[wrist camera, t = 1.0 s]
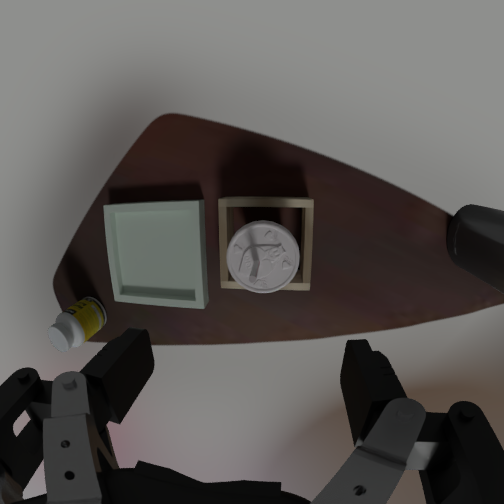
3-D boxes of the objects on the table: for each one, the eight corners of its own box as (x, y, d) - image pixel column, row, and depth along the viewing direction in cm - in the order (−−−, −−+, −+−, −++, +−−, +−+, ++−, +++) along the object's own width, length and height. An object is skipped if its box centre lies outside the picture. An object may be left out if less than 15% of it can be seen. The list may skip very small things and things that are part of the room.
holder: (308, 197, 32) (313, 199, 27) (305, 276, 34) (309, 290, 30) (226, 196, 33) (218, 199, 28) (228, 274, 35) (221, 288, 31)
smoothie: (230, 227, 34) (198, 258, 20) (277, 200, 32) (276, 213, 19) (257, 272, 35) (244, 329, 21) (304, 247, 33) (320, 291, 20)
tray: (204, 199, 33) (198, 201, 31) (208, 301, 36) (204, 308, 34) (113, 203, 34) (103, 205, 32) (123, 294, 37) (115, 300, 35)
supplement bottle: (97, 291, 38) (58, 318, 28) (113, 322, 39) (78, 354, 29) (76, 300, 39) (39, 326, 29) (91, 329, 40) (58, 359, 30)
